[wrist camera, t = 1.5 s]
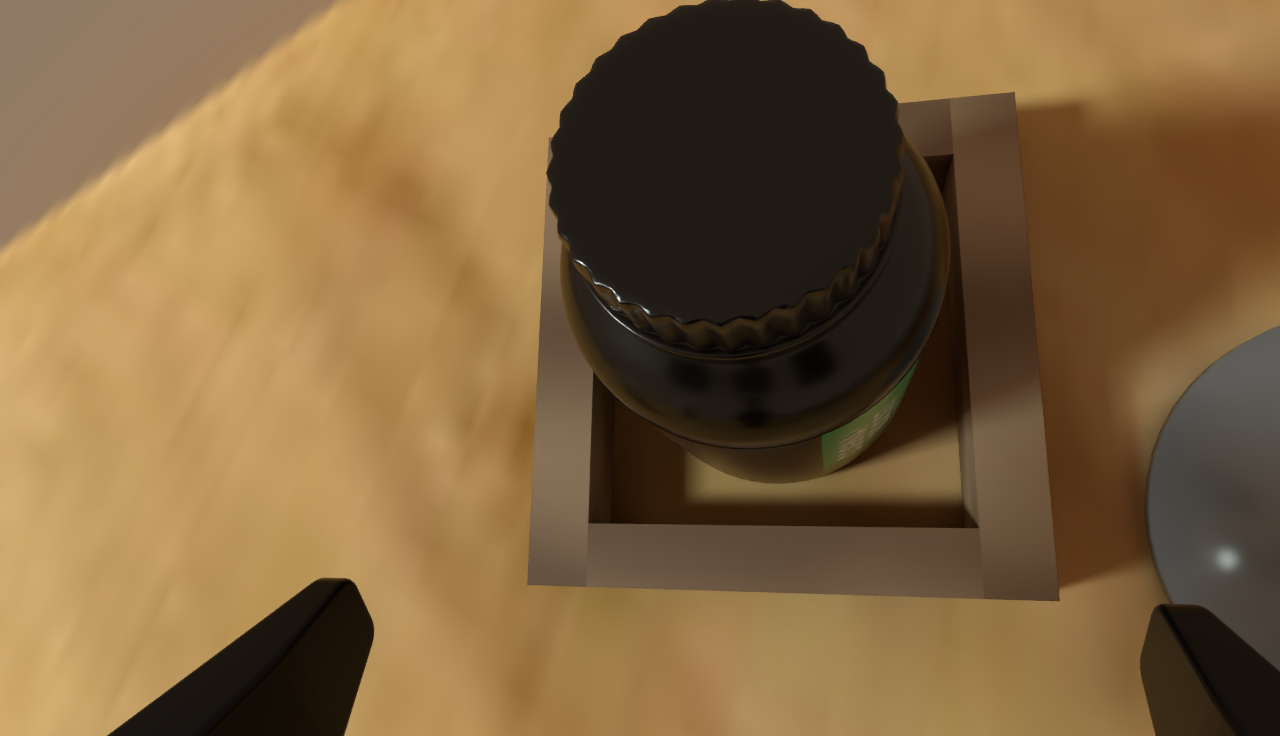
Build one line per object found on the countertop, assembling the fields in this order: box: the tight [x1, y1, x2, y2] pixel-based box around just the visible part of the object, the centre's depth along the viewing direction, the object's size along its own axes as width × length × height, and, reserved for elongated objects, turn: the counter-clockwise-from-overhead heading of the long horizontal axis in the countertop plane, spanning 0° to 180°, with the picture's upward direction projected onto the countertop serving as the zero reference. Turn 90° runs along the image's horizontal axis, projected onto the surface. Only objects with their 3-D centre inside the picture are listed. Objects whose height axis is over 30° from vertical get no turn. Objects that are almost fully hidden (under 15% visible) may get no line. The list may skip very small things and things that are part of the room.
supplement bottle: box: [546, 0, 951, 484], centre depth 17 cm, size 7×7×12 cm
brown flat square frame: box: [527, 92, 1060, 601], centre depth 21 cm, size 12×12×2 cm
